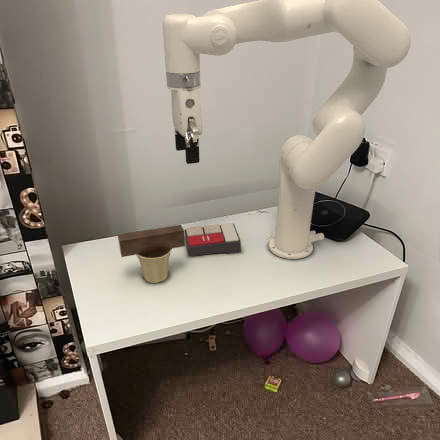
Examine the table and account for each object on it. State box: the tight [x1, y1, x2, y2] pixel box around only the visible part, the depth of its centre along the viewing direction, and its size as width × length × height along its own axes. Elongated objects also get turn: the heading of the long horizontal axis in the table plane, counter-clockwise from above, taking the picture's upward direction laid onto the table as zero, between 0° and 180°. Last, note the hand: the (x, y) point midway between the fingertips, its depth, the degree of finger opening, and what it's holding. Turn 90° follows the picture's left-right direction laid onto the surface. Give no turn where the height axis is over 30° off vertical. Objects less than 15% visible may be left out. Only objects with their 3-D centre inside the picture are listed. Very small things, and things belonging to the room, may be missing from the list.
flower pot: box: [136, 248, 173, 284], centre depth 113 cm, size 9×9×9 cm
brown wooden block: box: [117, 224, 186, 258], centre depth 109 cm, size 16×3×5 cm, turn 109°
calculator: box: [184, 222, 242, 257], centre depth 127 cm, size 11×4×15 cm
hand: (187, 156), depth 107 cm, fingers open, 9 cm apart
